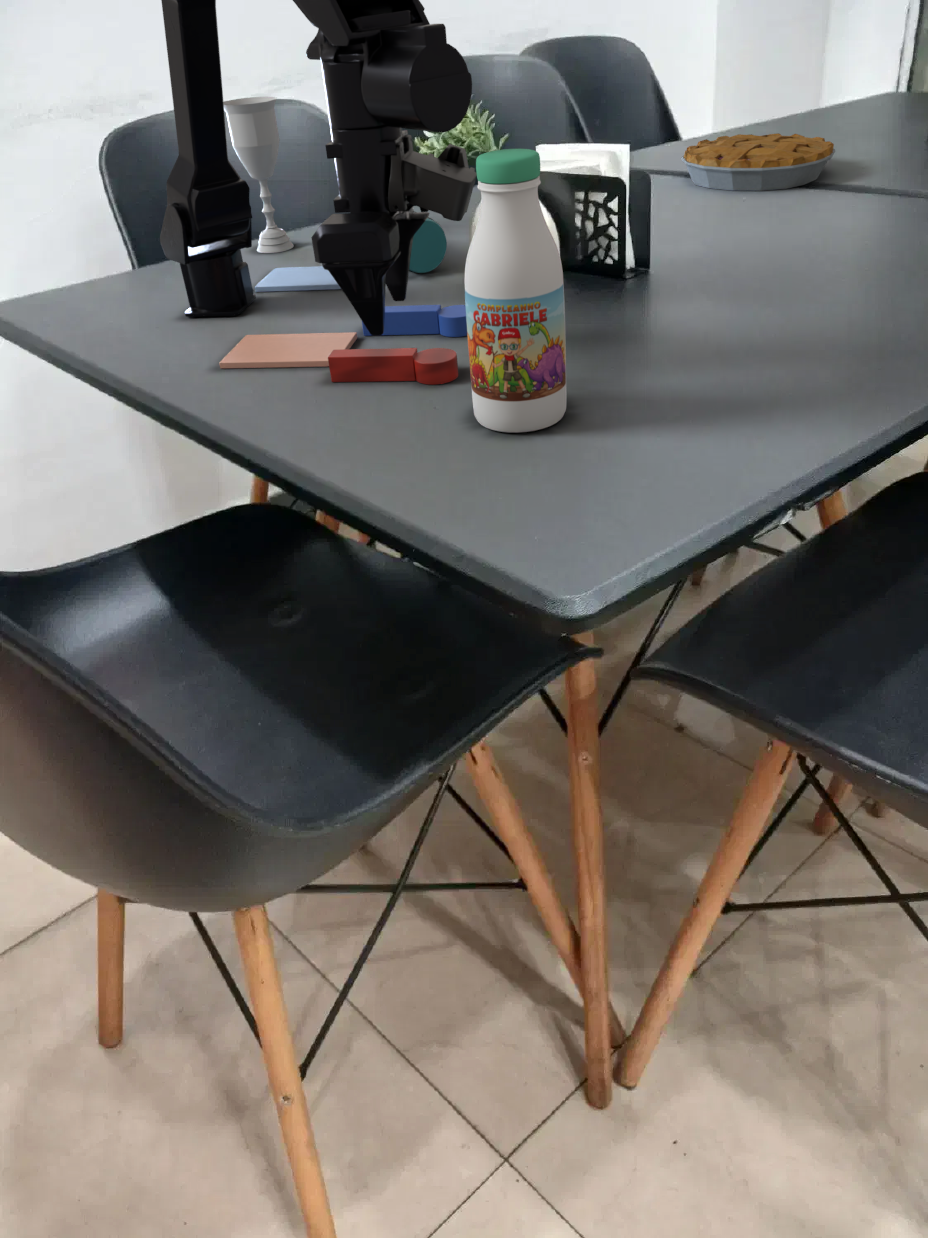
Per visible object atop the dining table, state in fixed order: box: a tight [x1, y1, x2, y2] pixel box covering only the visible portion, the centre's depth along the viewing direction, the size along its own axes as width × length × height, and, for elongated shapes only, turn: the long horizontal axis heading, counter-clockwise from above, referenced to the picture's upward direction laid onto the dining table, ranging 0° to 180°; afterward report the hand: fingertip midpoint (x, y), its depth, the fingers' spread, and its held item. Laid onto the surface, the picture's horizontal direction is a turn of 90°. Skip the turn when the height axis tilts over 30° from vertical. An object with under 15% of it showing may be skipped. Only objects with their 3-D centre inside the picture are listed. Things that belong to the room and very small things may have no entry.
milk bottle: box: [464, 148, 568, 433], centre depth 75 cm, size 8×8×20 cm
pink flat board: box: [218, 331, 359, 369], centre depth 98 cm, size 12×8×1 cm, turn 81°
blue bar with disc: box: [361, 304, 468, 338], centre depth 99 cm, size 12×4×2 cm, turn 81°
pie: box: [680, 132, 836, 192], centre depth 144 cm, size 22×22×5 cm
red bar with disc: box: [328, 347, 459, 386], centre depth 89 cm, size 12×4×2 cm, turn 81°
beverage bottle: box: [409, 210, 448, 275], centre depth 121 cm, size 6×7×20 cm
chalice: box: [223, 96, 294, 254], centre depth 128 cm, size 7×7×18 cm
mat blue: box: [254, 265, 342, 293], centre depth 118 cm, size 12×8×1 cm, turn 81°
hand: (389, 316), depth 87 cm, fingers open, 9 cm apart
